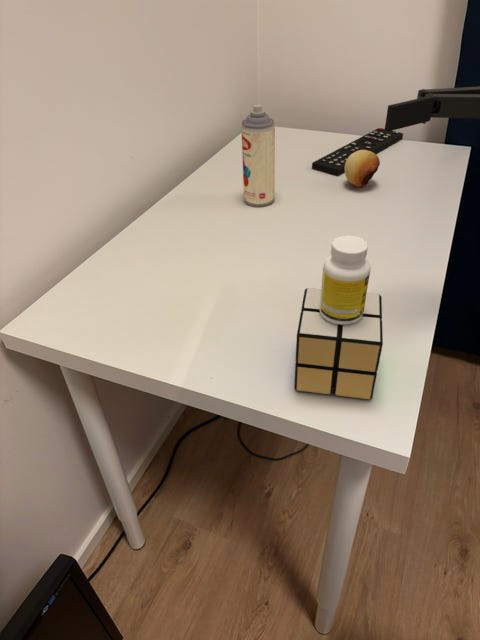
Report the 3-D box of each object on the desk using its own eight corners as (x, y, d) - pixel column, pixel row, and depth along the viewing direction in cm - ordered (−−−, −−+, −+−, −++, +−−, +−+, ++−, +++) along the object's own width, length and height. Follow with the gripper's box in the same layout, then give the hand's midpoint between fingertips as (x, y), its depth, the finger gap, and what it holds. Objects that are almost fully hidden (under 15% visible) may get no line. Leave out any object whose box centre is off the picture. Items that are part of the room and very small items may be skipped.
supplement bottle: (367, 325, 58) (378, 256, 52) (321, 326, 58) (328, 257, 52) (359, 298, 62) (369, 231, 56) (316, 299, 63) (322, 232, 56)
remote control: (402, 138, 134) (404, 131, 133) (337, 176, 116) (338, 168, 115) (378, 133, 138) (379, 126, 137) (311, 168, 120) (312, 161, 119)
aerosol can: (241, 195, 110) (237, 102, 97) (270, 192, 111) (270, 99, 98) (247, 208, 105) (243, 112, 92) (277, 205, 106) (278, 109, 93)
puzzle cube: (301, 341, 71) (304, 286, 65) (371, 349, 70) (381, 292, 63) (293, 391, 64) (296, 334, 57) (371, 401, 62) (383, 343, 56)
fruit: (376, 179, 114) (381, 145, 109) (376, 194, 108) (381, 159, 103) (343, 177, 116) (347, 143, 111) (341, 192, 109) (345, 157, 104)
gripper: (485, 49, 65) (360, 73, 57) (695, 88, 48) (556, 130, 40) (470, 108, 70) (353, 137, 62) (657, 163, 52) (526, 213, 45)
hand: (432, 135), depth 51 cm, fingers open, 13 cm apart
